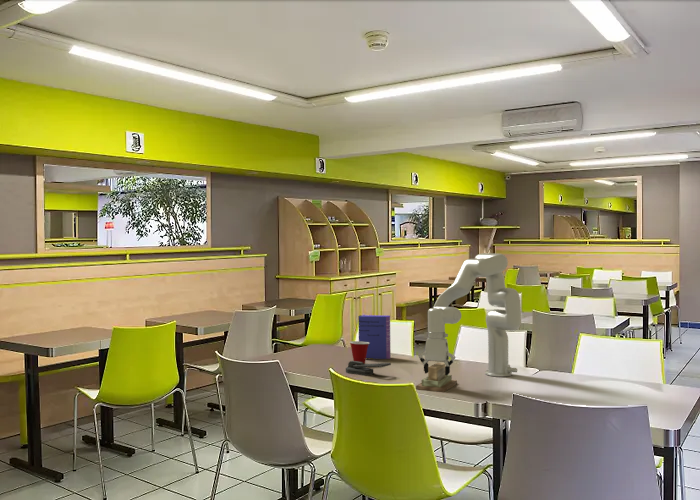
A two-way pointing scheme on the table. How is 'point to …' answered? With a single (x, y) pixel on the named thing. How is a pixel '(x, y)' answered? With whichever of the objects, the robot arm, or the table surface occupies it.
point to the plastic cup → (359, 350)
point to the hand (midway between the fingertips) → (436, 373)
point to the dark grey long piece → (363, 367)
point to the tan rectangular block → (436, 372)
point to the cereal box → (375, 335)
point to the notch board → (437, 384)
